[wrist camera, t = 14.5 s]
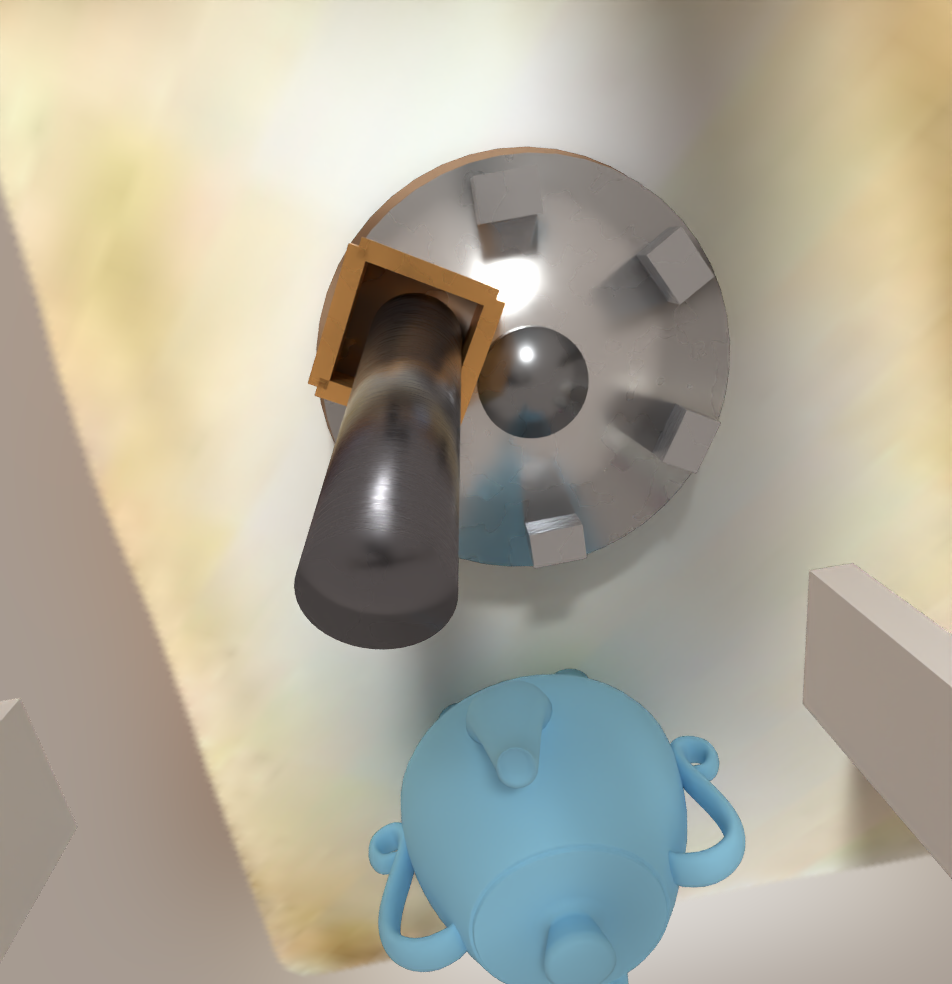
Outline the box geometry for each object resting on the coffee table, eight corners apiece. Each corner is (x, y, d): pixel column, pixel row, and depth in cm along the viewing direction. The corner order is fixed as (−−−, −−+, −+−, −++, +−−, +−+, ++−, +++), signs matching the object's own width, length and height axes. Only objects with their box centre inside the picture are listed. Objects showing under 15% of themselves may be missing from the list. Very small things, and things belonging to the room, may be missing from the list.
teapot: (477, 578, 38) (512, 750, 25) (730, 719, 43) (869, 925, 30) (333, 779, 42) (298, 1020, 29) (581, 888, 47) (646, 1135, 34)
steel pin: (352, 345, 30) (265, 605, 17) (403, 273, 28) (349, 502, 15) (427, 394, 31) (399, 669, 18) (480, 329, 30) (490, 581, 17)
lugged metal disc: (779, 251, 32) (834, 251, 28) (618, 590, 38) (644, 633, 34) (398, 86, 29) (396, 58, 25) (280, 488, 34) (262, 522, 30)
